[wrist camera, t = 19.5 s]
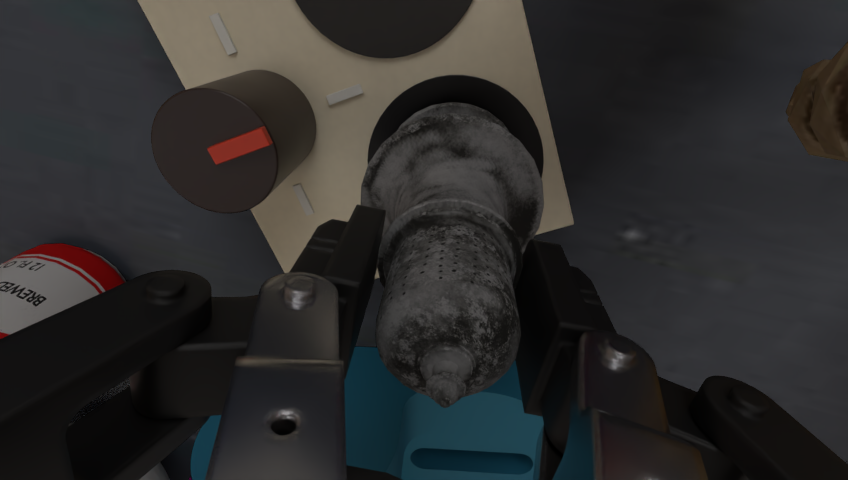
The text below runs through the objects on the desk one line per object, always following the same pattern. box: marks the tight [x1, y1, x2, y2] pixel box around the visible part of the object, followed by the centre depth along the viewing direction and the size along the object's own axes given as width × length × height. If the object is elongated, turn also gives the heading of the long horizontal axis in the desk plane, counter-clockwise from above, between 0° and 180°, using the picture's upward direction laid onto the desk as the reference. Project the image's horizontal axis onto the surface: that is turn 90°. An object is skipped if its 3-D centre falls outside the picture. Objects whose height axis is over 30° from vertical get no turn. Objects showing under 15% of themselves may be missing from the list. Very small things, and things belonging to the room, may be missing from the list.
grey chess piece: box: [361, 102, 544, 408], centre depth 13 cm, size 6×6×12 cm
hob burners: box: [295, 0, 544, 178], centre depth 17 cm, size 15×7×1 cm, turn 19°
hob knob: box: [151, 70, 316, 213], centre depth 17 cm, size 4×4×5 cm
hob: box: [138, 0, 574, 279], centre depth 19 cm, size 16×15×3 cm
